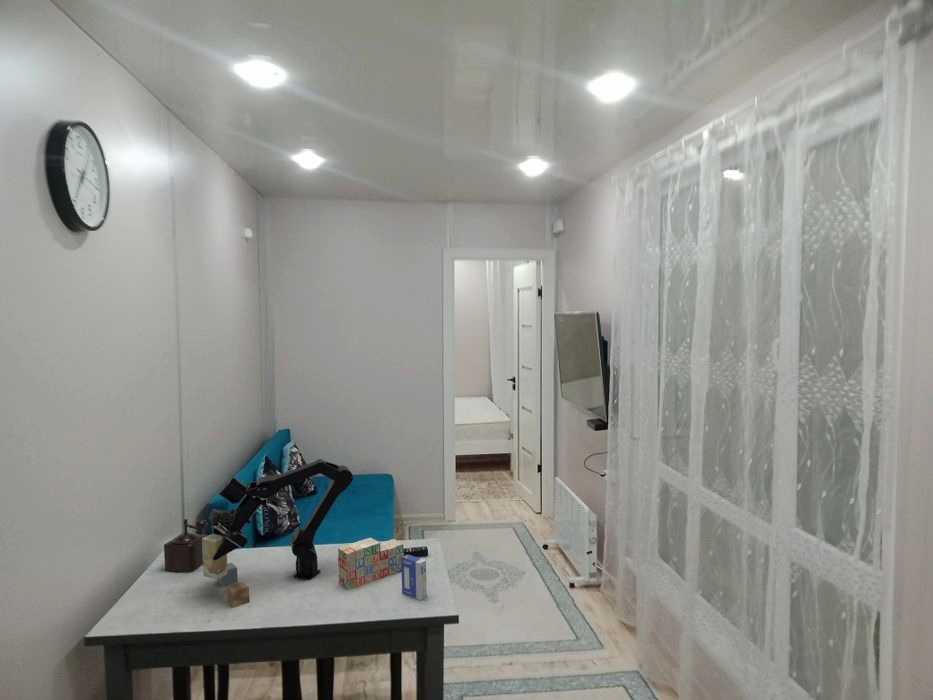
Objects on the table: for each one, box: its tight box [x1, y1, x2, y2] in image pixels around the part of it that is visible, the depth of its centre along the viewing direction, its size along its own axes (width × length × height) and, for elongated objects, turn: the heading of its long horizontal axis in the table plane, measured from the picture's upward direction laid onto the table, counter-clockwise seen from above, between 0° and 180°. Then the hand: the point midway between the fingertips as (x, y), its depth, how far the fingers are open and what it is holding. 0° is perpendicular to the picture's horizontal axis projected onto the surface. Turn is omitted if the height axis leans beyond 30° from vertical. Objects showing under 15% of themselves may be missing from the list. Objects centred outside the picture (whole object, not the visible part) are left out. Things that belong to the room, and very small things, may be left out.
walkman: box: [401, 553, 428, 601], centre depth 176 cm, size 8×3×12 cm, turn 54°
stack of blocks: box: [337, 537, 405, 591], centre depth 189 cm, size 21×6×12 cm, turn 129°
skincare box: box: [202, 534, 228, 581], centre depth 177 cm, size 6×4×12 cm
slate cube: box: [216, 561, 239, 588], centre depth 187 cm, size 5×5×5 cm
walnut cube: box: [226, 580, 250, 609], centre depth 174 cm, size 5×5×5 cm
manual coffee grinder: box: [163, 518, 208, 573], centre depth 198 cm, size 16×11×18 cm
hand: (209, 555), depth 176 cm, fingers closed on skincare box, 7 cm apart
